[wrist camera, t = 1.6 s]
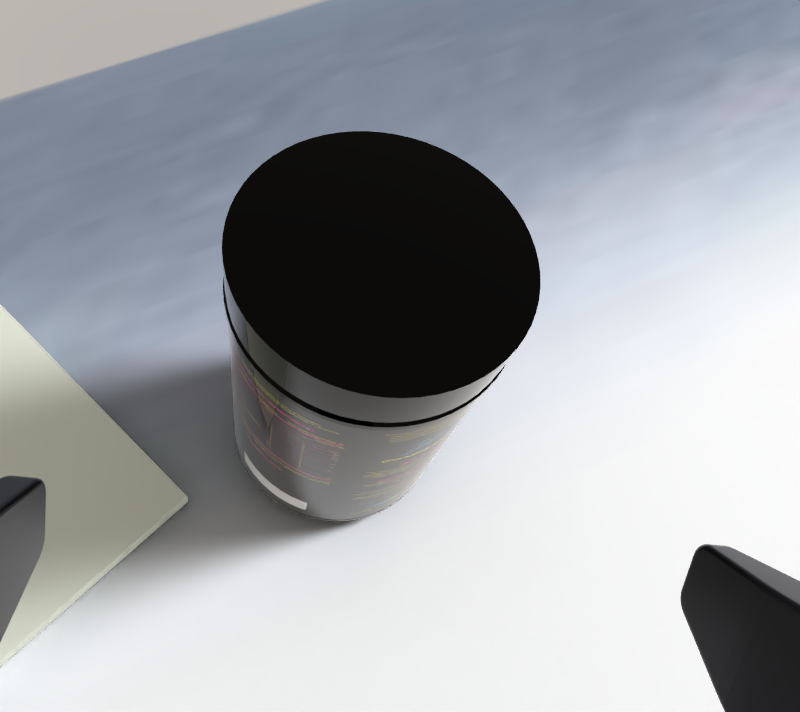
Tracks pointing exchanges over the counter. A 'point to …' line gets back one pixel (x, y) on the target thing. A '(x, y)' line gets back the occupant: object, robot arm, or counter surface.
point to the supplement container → (366, 314)
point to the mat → (71, 481)
